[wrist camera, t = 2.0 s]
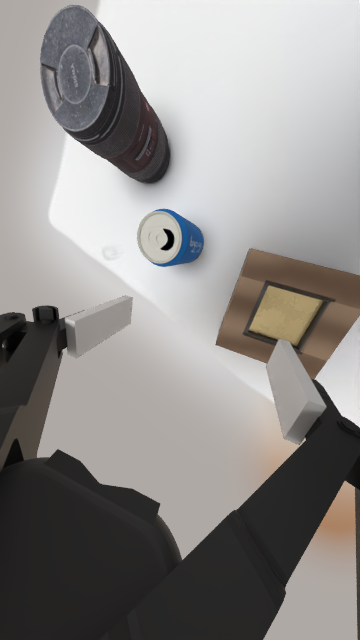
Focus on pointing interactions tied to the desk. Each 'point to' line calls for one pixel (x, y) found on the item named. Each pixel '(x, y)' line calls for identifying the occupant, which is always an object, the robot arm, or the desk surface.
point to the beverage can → (169, 238)
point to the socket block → (302, 278)
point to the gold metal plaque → (284, 315)
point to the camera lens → (100, 96)
